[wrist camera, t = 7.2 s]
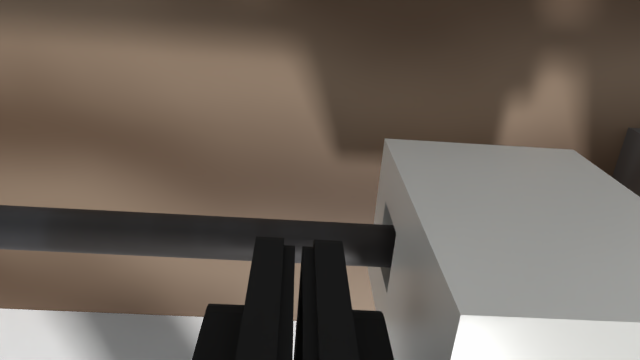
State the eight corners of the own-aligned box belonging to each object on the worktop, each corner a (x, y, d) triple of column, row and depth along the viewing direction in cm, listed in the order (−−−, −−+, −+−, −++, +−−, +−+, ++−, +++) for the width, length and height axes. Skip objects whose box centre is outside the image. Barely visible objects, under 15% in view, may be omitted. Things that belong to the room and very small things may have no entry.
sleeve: (384, 138, 13) (460, 315, 6) (573, 149, 13) (827, 331, 7) (367, 269, 14) (415, 514, 8) (536, 277, 15) (711, 521, 8)
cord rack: (-235, -80, 14) (-749, -117, 7) (781, -2, 16) (1154, 28, 9) (-117, 277, 19) (-359, 458, 12) (651, 310, 20) (826, 489, 14)
